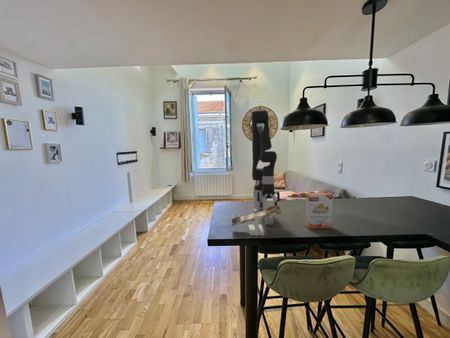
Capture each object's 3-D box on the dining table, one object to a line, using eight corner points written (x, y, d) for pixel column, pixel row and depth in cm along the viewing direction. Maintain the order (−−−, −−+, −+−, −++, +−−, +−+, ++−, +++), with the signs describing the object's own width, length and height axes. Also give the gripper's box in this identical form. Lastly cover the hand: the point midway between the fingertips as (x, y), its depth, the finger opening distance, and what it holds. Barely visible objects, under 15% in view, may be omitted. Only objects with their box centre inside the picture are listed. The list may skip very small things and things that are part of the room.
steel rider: (265, 224, 138) (265, 217, 137) (264, 222, 143) (264, 214, 142) (273, 224, 137) (273, 217, 137) (271, 222, 142) (271, 214, 142)
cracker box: (308, 229, 128) (309, 195, 126) (304, 225, 134) (305, 192, 132) (332, 228, 128) (333, 194, 126) (327, 225, 134) (328, 192, 132)
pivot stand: (249, 235, 122) (249, 215, 120) (248, 226, 135) (248, 208, 133) (263, 235, 121) (263, 215, 120) (261, 226, 134) (261, 208, 133)
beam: (232, 226, 124) (230, 219, 123) (232, 221, 133) (230, 214, 132) (282, 213, 121) (280, 206, 121) (279, 209, 130) (277, 202, 130)
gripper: (278, 181, 140) (278, 206, 142) (256, 181, 142) (256, 206, 143) (280, 183, 133) (280, 209, 134) (257, 183, 134) (257, 209, 135)
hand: (268, 207), depth 139 cm, fingers open, 8 cm apart
